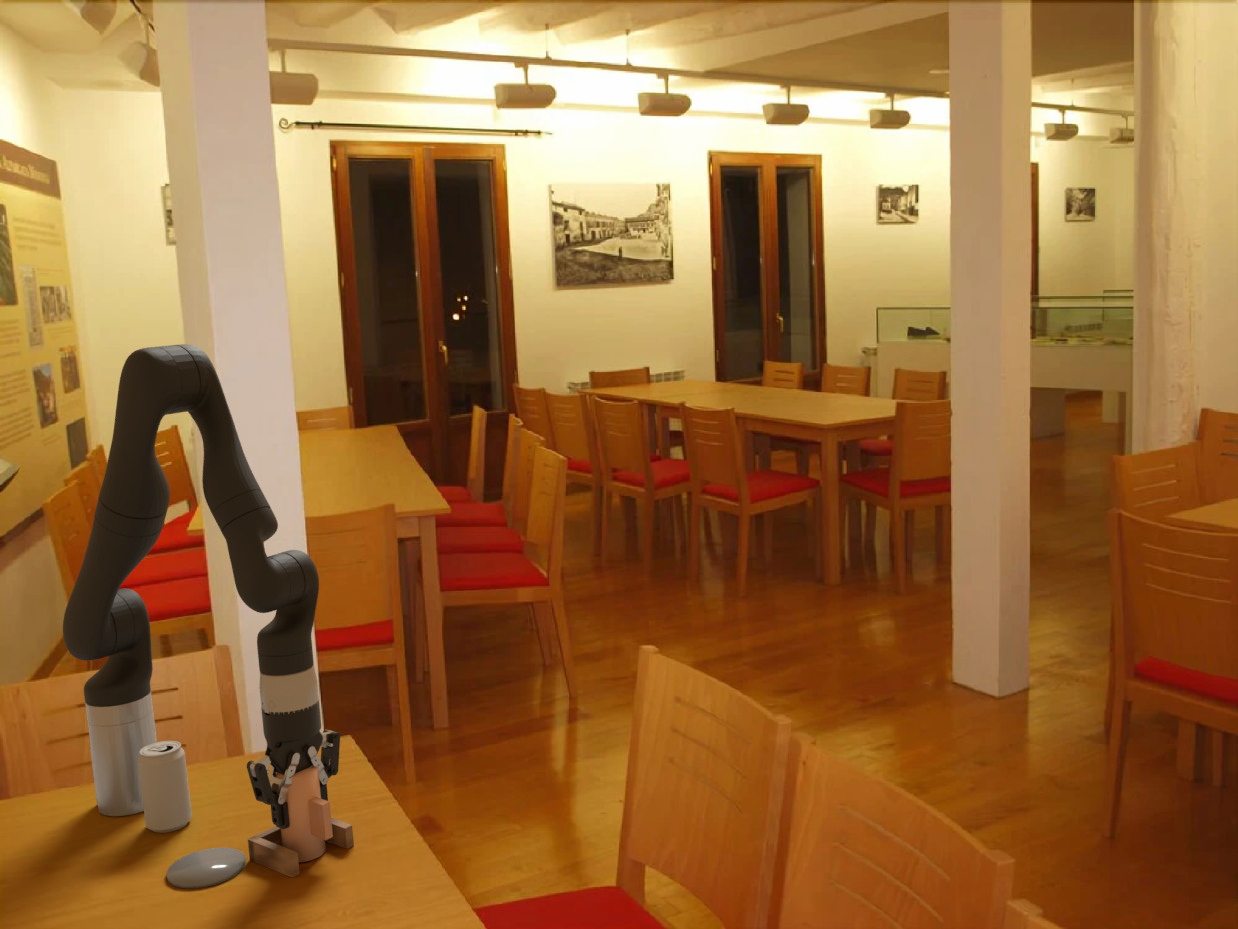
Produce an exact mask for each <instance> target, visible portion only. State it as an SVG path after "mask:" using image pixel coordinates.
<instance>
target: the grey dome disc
mask: <svg viewBox="0 0 1238 929" xmlns="http://www.w3.org/2000/svg"><path fill="white" fill-rule="evenodd" d="M246 861H247V859H246V855H245V854H244V852H243V851H241V850H239V849H237V848H233V847H212V848H206V849H205V848H204V849H201V850H196V851H194V852H191V853H189V854H186V855H184V856H182V857H180V858H178V859H177V860H175V861H174V862H173V863H172V864H171V865H170V866H169V867H168V868H167V871H166V879H167V882H168V883H169V884H170V885H171V886H173V887H176V888H180V889H188V890H189V889H202V888H207V887H213V886H215V885H218V884H221V883H223V882H226V881H229V880H230V879H232V878H234V877H236V876H237V875H238V874H240V873H241V872H242V871H243V870H244V868H245V867H246Z"/></svg>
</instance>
